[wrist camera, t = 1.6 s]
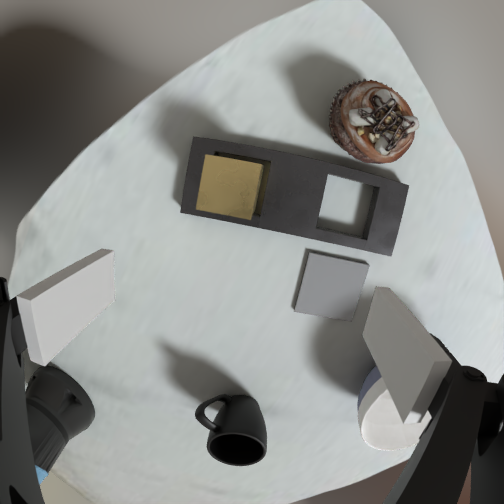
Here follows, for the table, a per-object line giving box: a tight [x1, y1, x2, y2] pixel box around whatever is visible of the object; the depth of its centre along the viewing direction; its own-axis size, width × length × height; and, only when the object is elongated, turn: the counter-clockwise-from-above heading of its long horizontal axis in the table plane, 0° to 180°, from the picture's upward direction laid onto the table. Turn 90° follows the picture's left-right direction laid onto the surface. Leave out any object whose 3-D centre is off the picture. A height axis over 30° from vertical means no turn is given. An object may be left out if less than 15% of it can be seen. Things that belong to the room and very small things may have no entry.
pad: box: [294, 252, 369, 321], centre depth 39 cm, size 8×8×1 cm
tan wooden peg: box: [196, 154, 264, 220], centre depth 32 cm, size 5×5×10 cm
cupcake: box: [329, 79, 419, 164], centre depth 29 cm, size 10×10×10 cm
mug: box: [195, 394, 267, 466], centre depth 40 cm, size 8×12×10 cm
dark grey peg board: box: [180, 137, 409, 256], centre depth 35 cm, size 26×9×2 cm, turn 79°
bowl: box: [358, 365, 431, 451], centre depth 38 cm, size 16×16×10 cm
